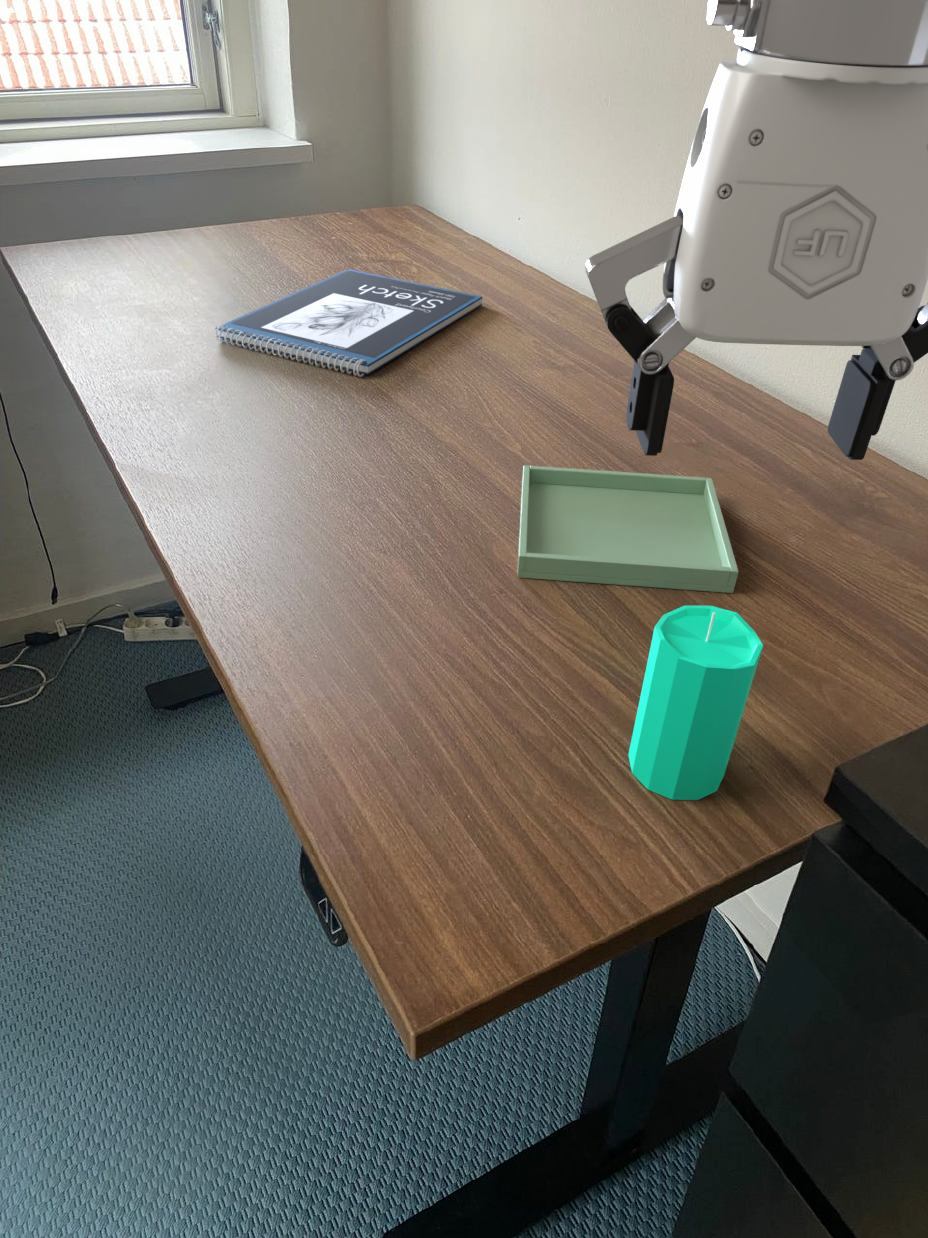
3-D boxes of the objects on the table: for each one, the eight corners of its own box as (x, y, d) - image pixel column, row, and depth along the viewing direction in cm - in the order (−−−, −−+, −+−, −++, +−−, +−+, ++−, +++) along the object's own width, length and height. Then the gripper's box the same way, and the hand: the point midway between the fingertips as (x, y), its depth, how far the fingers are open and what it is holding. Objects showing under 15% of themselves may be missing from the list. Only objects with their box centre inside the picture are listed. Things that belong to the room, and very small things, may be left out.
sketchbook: (482, 306, 125) (483, 290, 124) (363, 382, 104) (363, 364, 103) (347, 277, 133) (347, 262, 131) (211, 342, 111) (209, 325, 110)
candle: (652, 809, 55) (689, 654, 48) (613, 739, 60) (641, 588, 53) (741, 791, 57) (791, 638, 49) (697, 724, 61) (736, 575, 54)
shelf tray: (707, 497, 85) (712, 477, 84) (733, 593, 73) (738, 571, 72) (521, 485, 86) (523, 464, 85) (517, 577, 74) (518, 555, 73)
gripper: (633, 26, 31) (577, 479, 41) (1134, 45, 32) (955, 486, 42) (601, 7, 37) (559, 408, 47) (1023, 24, 38) (890, 415, 48)
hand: (745, 444), depth 45 cm, fingers open, 9 cm apart
